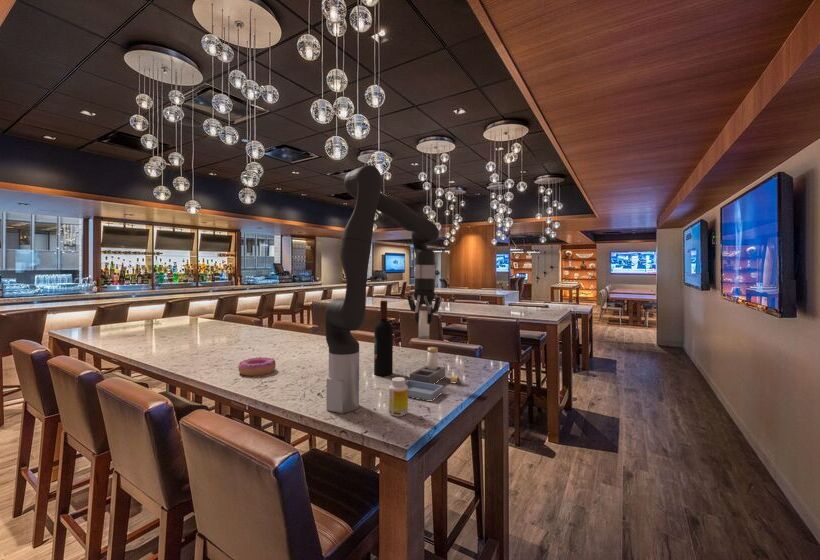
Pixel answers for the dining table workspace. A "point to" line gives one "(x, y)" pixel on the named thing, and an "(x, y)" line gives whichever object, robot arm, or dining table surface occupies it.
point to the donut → (257, 366)
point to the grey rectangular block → (427, 375)
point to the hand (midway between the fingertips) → (424, 323)
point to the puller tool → (453, 378)
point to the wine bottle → (383, 344)
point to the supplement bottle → (398, 397)
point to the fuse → (432, 359)
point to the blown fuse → (423, 323)
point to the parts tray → (423, 390)
